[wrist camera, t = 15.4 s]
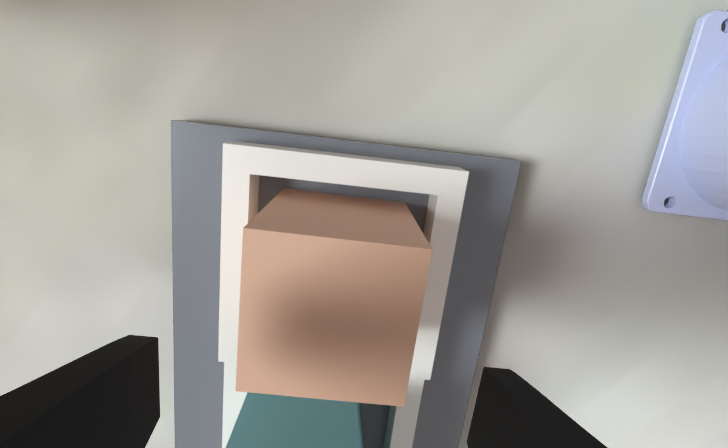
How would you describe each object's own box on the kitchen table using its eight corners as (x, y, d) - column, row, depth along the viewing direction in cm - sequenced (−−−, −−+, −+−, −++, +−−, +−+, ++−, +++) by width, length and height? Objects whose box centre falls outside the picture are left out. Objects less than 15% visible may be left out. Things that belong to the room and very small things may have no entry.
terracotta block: (404, 202, 16) (432, 249, 10) (388, 310, 17) (404, 406, 12) (284, 188, 16) (242, 227, 10) (276, 299, 17) (235, 390, 11)
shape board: (511, 159, 17) (537, 165, 14) (432, 527, 22) (442, 577, 20) (182, 120, 16) (151, 120, 14) (184, 510, 21) (162, 559, 19)
